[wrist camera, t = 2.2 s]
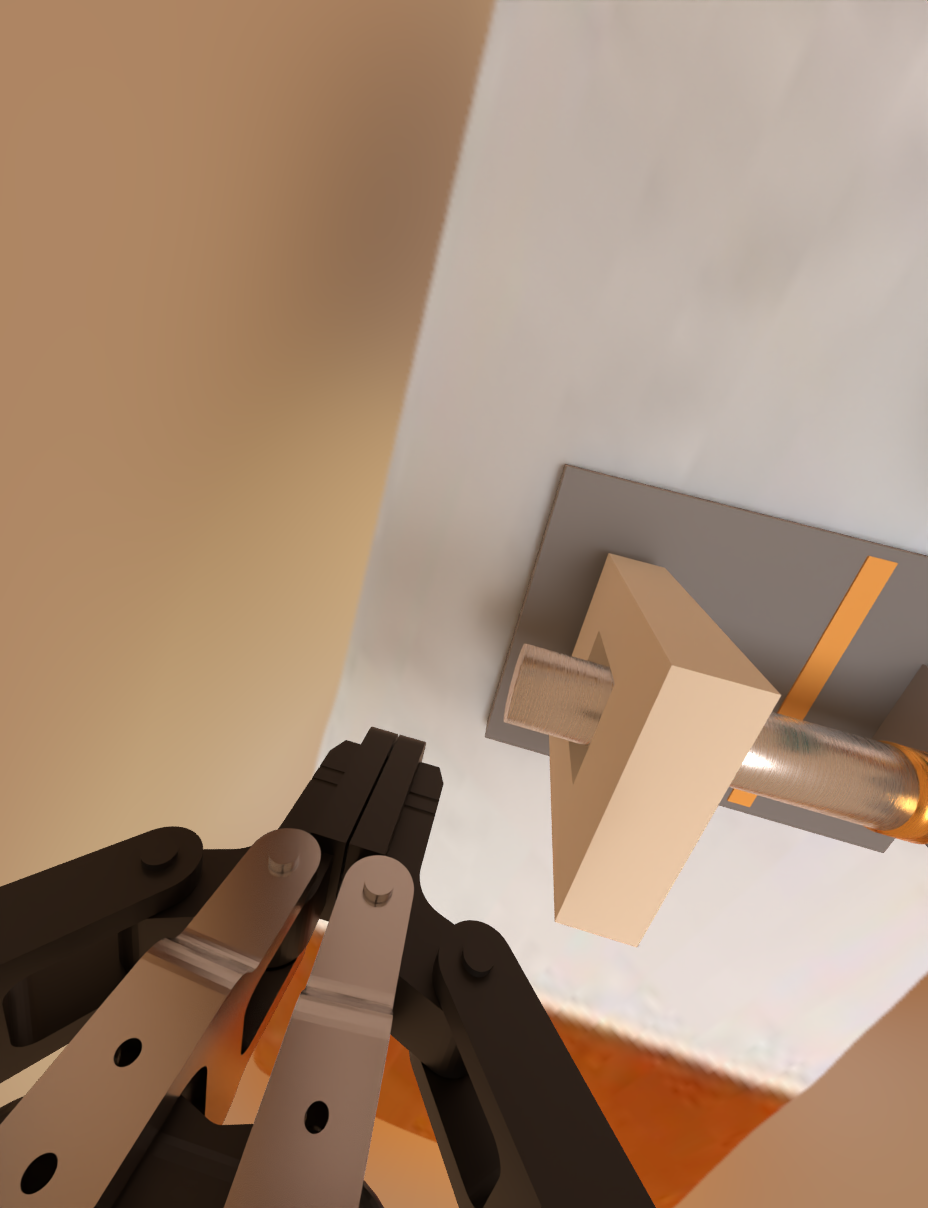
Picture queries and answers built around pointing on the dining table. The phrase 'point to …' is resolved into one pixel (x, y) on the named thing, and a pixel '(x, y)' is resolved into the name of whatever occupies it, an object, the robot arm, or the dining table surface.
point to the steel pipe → (774, 763)
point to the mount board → (747, 613)
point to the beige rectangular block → (647, 749)
